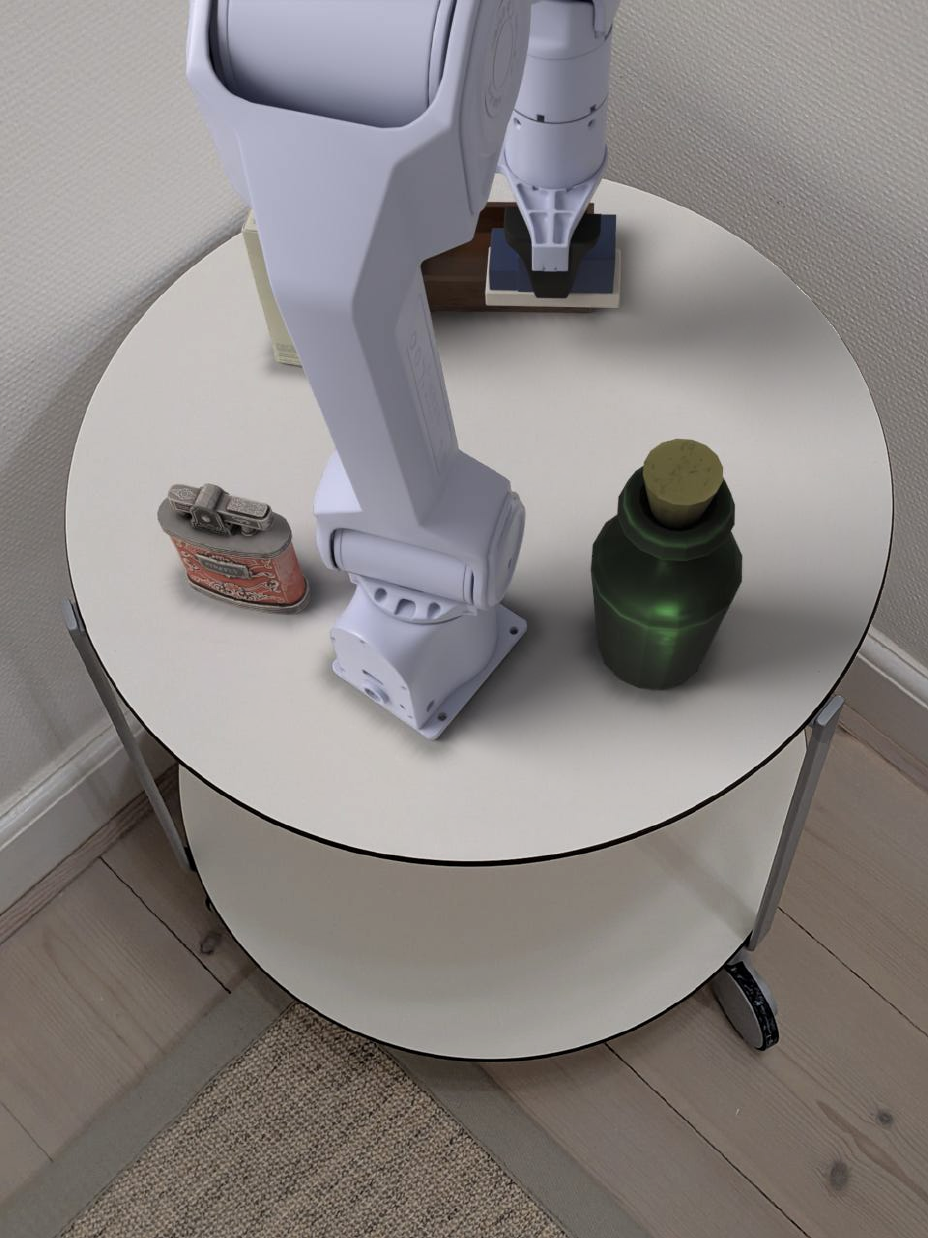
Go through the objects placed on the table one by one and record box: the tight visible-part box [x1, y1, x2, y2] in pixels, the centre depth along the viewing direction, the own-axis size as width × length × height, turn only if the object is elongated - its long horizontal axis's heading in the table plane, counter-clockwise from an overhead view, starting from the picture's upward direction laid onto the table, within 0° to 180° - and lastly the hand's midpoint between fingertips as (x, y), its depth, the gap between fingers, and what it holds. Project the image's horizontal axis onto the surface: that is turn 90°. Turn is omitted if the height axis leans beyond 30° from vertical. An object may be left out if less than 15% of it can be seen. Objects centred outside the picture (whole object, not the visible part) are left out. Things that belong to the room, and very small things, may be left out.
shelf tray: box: [420, 201, 595, 313], centre depth 88 cm, size 12×8×3 cm, turn 86°
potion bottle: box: [590, 438, 743, 691], centre depth 67 cm, size 8×8×18 cm
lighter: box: [156, 482, 312, 615], centre depth 74 cm, size 8×3×10 cm, turn 73°
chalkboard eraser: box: [486, 213, 622, 309], centre depth 79 cm, size 8×4×4 cm, turn 86°
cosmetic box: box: [241, 207, 302, 367], centre depth 82 cm, size 6×4×12 cm
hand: (552, 267), depth 79 cm, fingers closed on chalkboard eraser, 4 cm apart
